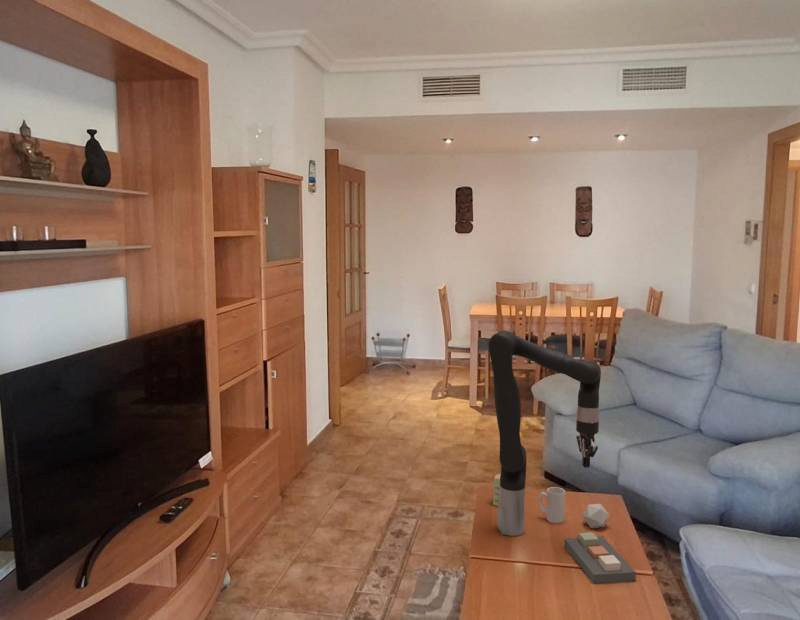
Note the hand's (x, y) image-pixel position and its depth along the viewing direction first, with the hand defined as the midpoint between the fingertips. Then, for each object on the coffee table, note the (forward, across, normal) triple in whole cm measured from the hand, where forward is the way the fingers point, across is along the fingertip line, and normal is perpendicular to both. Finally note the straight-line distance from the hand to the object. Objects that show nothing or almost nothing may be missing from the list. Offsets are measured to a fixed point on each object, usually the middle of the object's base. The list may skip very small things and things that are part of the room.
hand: (585, 466), depth 214 cm
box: (+29, -36, -17) cm, 49 cm away
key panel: (+29, +12, 0) cm, 31 cm away
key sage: (+28, +4, 0) cm, 28 cm away
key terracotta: (+28, +12, 0) cm, 31 cm away
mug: (+29, -21, -4) cm, 36 cm away
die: (+29, -14, +11) cm, 34 cm away
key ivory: (+28, +20, 0) cm, 34 cm away
